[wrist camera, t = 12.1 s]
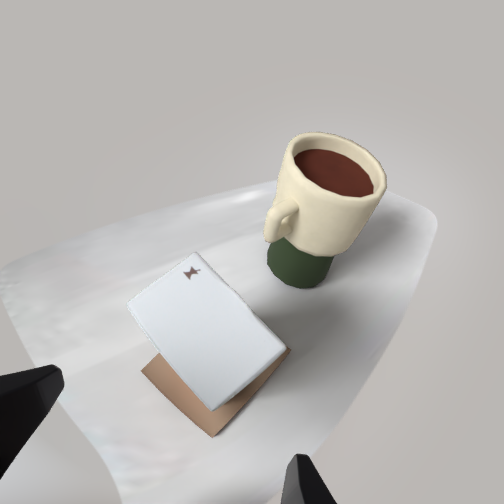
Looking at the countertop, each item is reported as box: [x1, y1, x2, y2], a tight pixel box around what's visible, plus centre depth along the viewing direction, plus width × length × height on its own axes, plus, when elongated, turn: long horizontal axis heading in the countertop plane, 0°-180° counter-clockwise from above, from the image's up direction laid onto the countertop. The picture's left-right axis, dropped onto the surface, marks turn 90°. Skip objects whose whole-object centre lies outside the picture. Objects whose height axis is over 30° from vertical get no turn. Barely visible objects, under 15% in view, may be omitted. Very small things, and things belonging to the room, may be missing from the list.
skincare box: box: [126, 252, 286, 412], centre depth 16 cm, size 6×4×12 cm
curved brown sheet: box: [141, 346, 291, 438], centre depth 21 cm, size 10×8×1 cm
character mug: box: [263, 132, 387, 289], centre depth 22 cm, size 11×7×13 cm, turn 126°
